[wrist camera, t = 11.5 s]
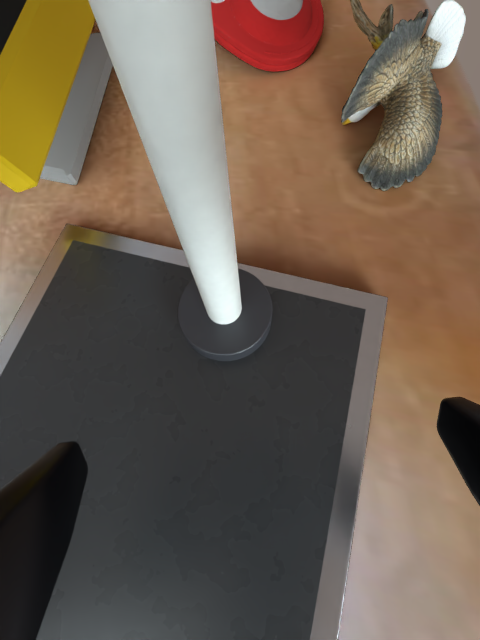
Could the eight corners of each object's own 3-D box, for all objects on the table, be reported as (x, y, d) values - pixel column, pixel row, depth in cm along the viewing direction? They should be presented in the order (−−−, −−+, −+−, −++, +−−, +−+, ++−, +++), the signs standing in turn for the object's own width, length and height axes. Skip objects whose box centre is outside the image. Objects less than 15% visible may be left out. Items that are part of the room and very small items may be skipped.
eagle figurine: (303, 64, 22) (301, 142, 17) (400, -76, 16) (434, -17, 12) (380, 132, 25) (395, 212, 20) (482, 33, 19) (535, 112, 15)
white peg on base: (257, 372, 15) (269, 44, 2) (169, 347, 15) (-174, -17, 3) (281, 289, 16) (363, -186, 4) (199, 269, 17) (44, -197, 5)
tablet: (267, 1066, 9) (268, 1131, 8) (-225, 783, 11) (-263, 810, 11) (382, 303, 17) (389, 295, 16) (73, 231, 19) (64, 221, 18)
